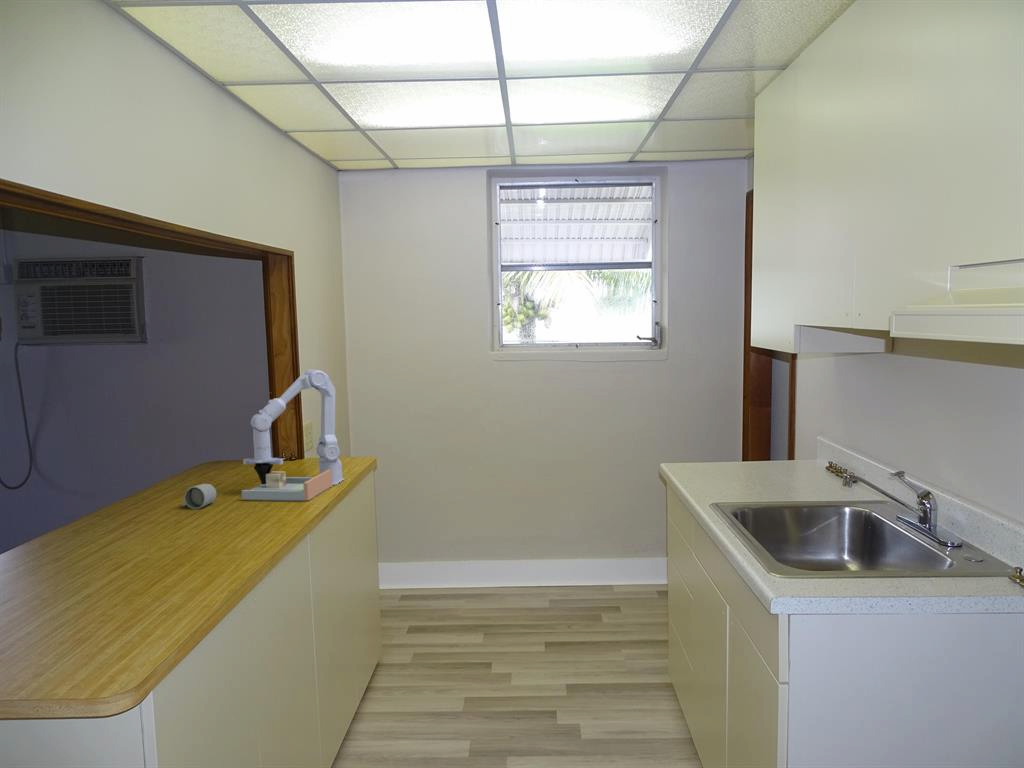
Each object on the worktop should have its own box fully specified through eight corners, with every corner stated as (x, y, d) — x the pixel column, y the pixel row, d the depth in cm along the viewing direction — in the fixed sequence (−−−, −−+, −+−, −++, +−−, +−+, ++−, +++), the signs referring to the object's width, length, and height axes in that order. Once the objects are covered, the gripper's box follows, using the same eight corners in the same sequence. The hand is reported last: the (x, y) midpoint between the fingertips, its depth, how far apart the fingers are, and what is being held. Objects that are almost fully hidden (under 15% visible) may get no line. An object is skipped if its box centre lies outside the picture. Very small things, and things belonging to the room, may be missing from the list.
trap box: (271, 485, 259) (270, 469, 258) (332, 486, 255) (331, 469, 255) (242, 500, 238) (241, 482, 238) (308, 501, 235) (307, 483, 234)
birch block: (273, 484, 250) (272, 471, 250) (286, 484, 249) (285, 471, 249) (266, 488, 245) (265, 474, 245) (279, 488, 244) (278, 474, 244)
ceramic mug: (219, 502, 236) (217, 481, 236) (205, 509, 228) (203, 486, 228) (190, 503, 238) (188, 481, 237) (176, 509, 230) (174, 487, 229)
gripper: (237, 449, 244) (240, 486, 245) (275, 449, 242) (277, 486, 243) (248, 445, 251) (250, 481, 252) (285, 445, 249) (287, 481, 250)
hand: (264, 483), depth 248 cm, fingers closed
